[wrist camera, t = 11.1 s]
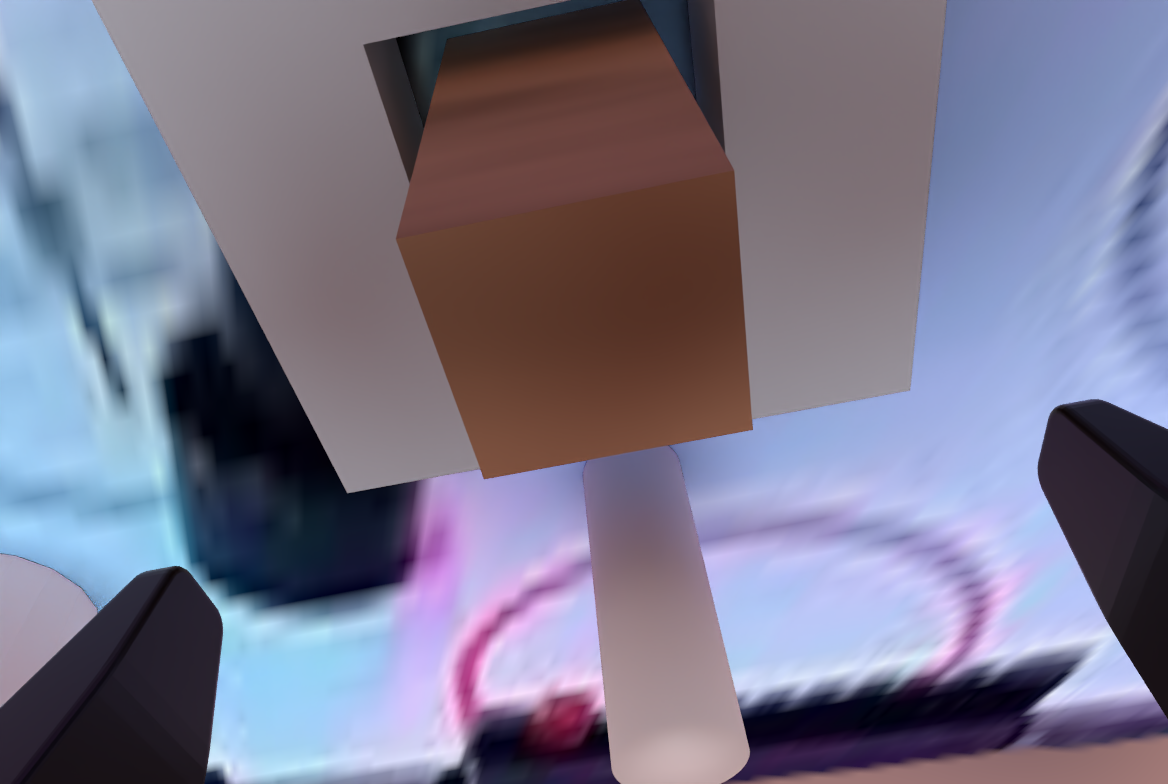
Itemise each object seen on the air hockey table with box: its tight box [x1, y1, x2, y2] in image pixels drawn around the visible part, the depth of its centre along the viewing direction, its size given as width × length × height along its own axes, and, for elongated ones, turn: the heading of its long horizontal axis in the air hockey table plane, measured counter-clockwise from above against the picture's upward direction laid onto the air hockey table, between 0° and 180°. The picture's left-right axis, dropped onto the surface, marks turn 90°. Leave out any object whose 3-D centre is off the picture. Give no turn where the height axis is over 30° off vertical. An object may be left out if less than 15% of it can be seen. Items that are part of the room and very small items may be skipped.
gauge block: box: [92, 0, 947, 784], centre depth 16 cm, size 14×20×9 cm
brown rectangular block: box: [396, 0, 753, 479], centre depth 14 cm, size 4×4×9 cm
